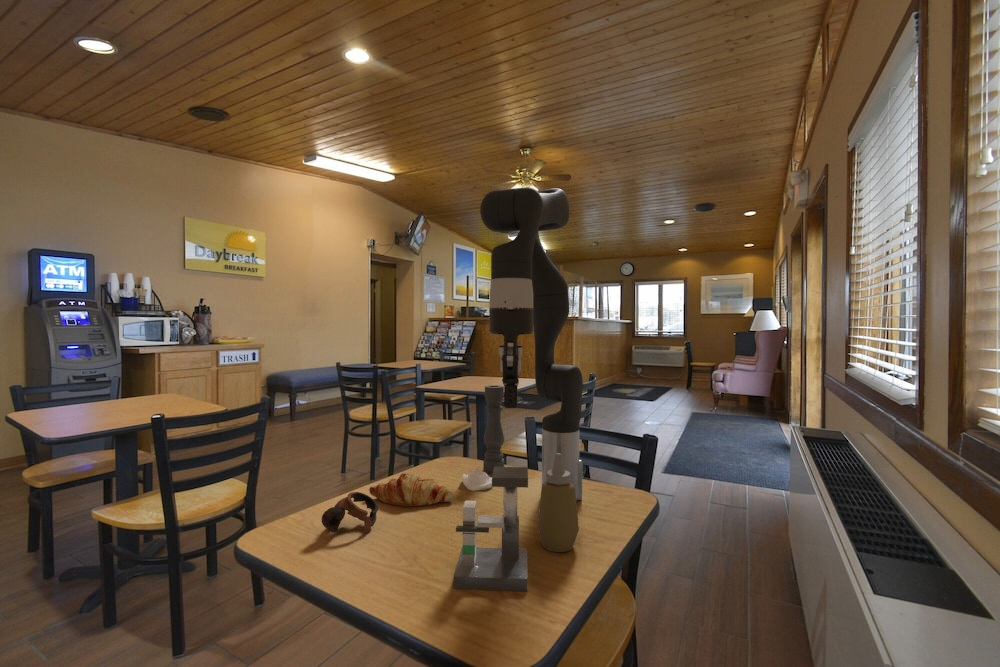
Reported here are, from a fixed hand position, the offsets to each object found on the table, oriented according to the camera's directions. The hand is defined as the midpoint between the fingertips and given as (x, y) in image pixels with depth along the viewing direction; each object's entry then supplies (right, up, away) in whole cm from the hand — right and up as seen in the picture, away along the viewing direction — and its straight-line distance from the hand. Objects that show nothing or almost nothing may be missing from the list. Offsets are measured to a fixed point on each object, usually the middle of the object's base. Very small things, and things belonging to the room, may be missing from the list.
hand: (510, 407), depth 79 cm
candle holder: (-4, -28, +57) cm, 64 cm away
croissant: (-23, -29, +33) cm, 50 cm away
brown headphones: (-34, -29, +17) cm, 48 cm away
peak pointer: (-6, -21, -2) cm, 22 cm away
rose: (-8, -29, +45) cm, 54 cm away
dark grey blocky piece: (-1, -21, 0) cm, 21 cm away
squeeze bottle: (+9, -29, +11) cm, 32 cm away
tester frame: (-3, -29, +1) cm, 29 cm away
